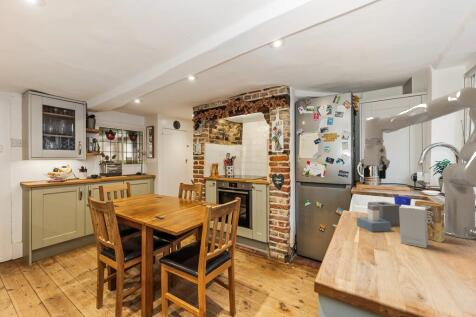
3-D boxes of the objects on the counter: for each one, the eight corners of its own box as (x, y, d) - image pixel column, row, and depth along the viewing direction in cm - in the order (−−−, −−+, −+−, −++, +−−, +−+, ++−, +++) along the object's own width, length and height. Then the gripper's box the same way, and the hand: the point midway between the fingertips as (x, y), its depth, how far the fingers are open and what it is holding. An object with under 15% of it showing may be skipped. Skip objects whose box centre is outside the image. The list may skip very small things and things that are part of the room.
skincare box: (428, 244, 86) (428, 206, 86) (426, 249, 82) (426, 209, 82) (402, 239, 92) (402, 203, 92) (398, 242, 88) (398, 206, 88)
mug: (396, 216, 129) (396, 198, 129) (393, 211, 140) (393, 195, 139) (414, 217, 125) (414, 200, 125) (409, 212, 136) (409, 196, 136)
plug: (379, 226, 106) (379, 206, 105) (372, 227, 105) (372, 206, 105) (373, 224, 109) (373, 204, 109) (367, 225, 108) (367, 204, 108)
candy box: (444, 240, 91) (444, 203, 91) (441, 242, 88) (441, 204, 88) (418, 234, 98) (418, 200, 98) (414, 236, 96) (414, 201, 96)
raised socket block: (400, 225, 111) (400, 205, 111) (382, 226, 110) (382, 206, 110) (384, 219, 121) (384, 201, 121) (368, 220, 120) (367, 202, 120)
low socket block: (390, 230, 103) (390, 222, 103) (371, 231, 101) (371, 223, 101) (374, 224, 113) (374, 216, 113) (356, 225, 111) (356, 217, 111)
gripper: (395, 141, 99) (396, 179, 99) (367, 144, 116) (368, 176, 116) (381, 141, 98) (381, 179, 98) (354, 144, 115) (355, 176, 115)
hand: (374, 177), depth 107 cm, fingers open, 9 cm apart
